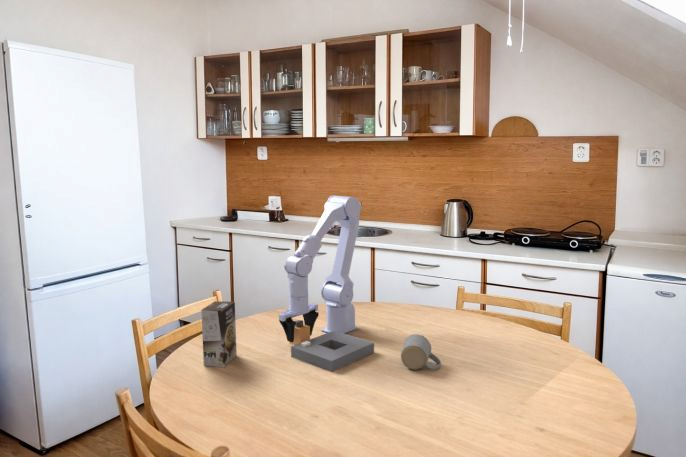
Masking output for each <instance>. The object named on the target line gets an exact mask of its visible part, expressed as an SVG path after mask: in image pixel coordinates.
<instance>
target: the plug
mask: <svg viewBox="0 0 686 457" xmlns="http://www.w3.org/2000/svg"><path fill="white" fill-rule="evenodd" d="M295 321H296V325H295V329H294V342H289V341H288V342H289V344H291V345H292V346H294V345H297V344H299V343H302V342H305V341H307V340H310V339H311V336H310V326H307V325H305V324H304V320H301V319H299V320H298V319H297V320H295Z"/></svg>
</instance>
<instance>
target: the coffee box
mask: <svg viewBox="0 0 686 457" xmlns="http://www.w3.org/2000/svg"><path fill="white" fill-rule="evenodd" d="M236 327H237V326H236V303H235V301H213V302H211V303H210V304H208V305H207V306H206V307H204V308H202V309H201V332H202V333H201V334H202V336H201V337H202V353H203V354H202V356H203V359H202V360H203V366H204V367H205V366H206V367H216V368H224V367H226V366H227V365H228V364H229V363H231V361H233V359H234V358H235V357H237V352H238V351H237V328H236Z"/></svg>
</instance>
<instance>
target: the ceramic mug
mask: <svg viewBox="0 0 686 457" xmlns="http://www.w3.org/2000/svg"><path fill="white" fill-rule="evenodd" d="M400 352H401V353H400V359H401V362H402V364H403V365H404V366H405V368H408V369H410V370H414V371H417V370H421V369H422V368H423V367H427V369H431V370H438V369H439V368H440V366H441V364H442V361H441V359H440V358H439V357H438V356H436V355H435V354H434V353H432V345H431V342H430V341H429V340H428V338H427V337H425V335H421V334H418V333H417V334H415V333H414V334H411V335H409V336H408V337H407V338H405V341H404V343H403V346H402V348H401V351H400ZM429 359H430V360H432V361H433V362H435V363H431V362H430V361H429Z"/></svg>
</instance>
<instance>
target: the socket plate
mask: <svg viewBox="0 0 686 457" xmlns="http://www.w3.org/2000/svg"><path fill="white" fill-rule="evenodd" d="M374 353H375V342H374V341H369V340H367V339H363V338H360V337H357V336H353V335H350V334H347V333H340V332H337V331H331V332H329V333H328V332H325V333H324V334H322V335H318V336H316V337H313V338H310V340H307V341H305V342H302V343H299V344H297V345H292V346H290V356H291V358H294V359H297V360H299V361H302V362H303V363H304V362H305V363H307V364H310V365H313V366H314V367H318V368H320V369H323V370H326V371H329V372H334V371H336V370H338V369H341V368H343V367H346V366H347V365H350V364H352V363H354V362H356V361H359V360H361V359H363V358H365V357H368V356H369V355H372V354H374Z"/></svg>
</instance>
